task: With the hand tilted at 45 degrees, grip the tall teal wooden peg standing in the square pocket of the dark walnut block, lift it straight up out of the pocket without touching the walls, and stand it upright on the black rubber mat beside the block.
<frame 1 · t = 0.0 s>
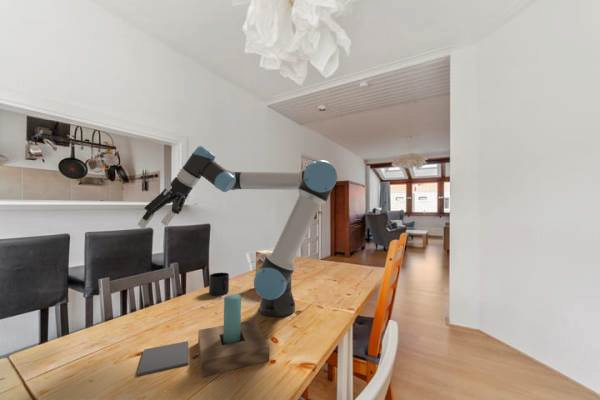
hand: (152, 225, 99), 36 cm above the table, tool tilted 35°, fingers open, 13 cm apart
mug: (220, 293, 126), on the table
peg: (232, 324, 76), in the pocket block
pocket block: (231, 351, 76), on the table
coffeecake box: (269, 289, 135), on the table
mat: (165, 357, 72), on the table
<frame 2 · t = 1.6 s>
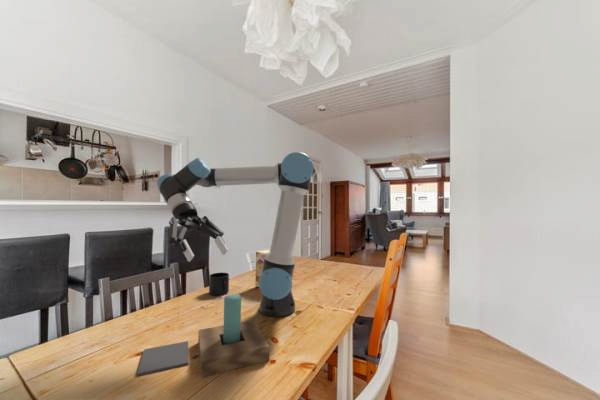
hand: (209, 255, 82), 28 cm above the table, tool tilted 45°, fingers open, 13 cm apart
nothing on the table moved.
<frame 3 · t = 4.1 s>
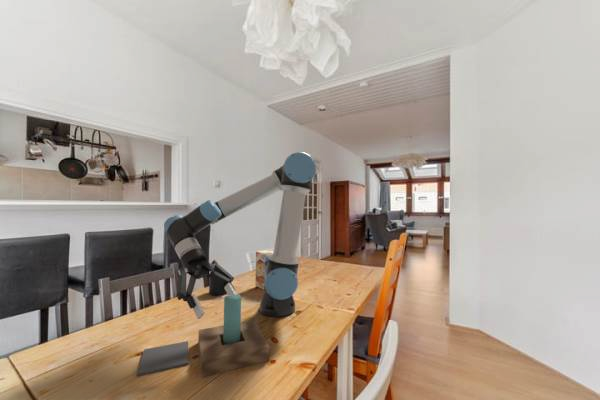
hand: (220, 308, 78), 12 cm above the table, tool tilted 45°, fingers open, 13 cm apart
nothing on the table moved.
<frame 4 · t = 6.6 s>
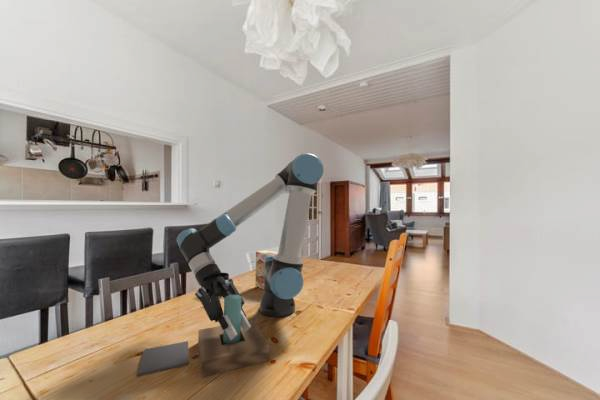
hand: (241, 333, 74), 6 cm above the table, tool tilted 45°, fingers closed on peg, 5 cm apart
peg: (232, 324, 76), in the pocket block, touching gripper
everything else where it was.
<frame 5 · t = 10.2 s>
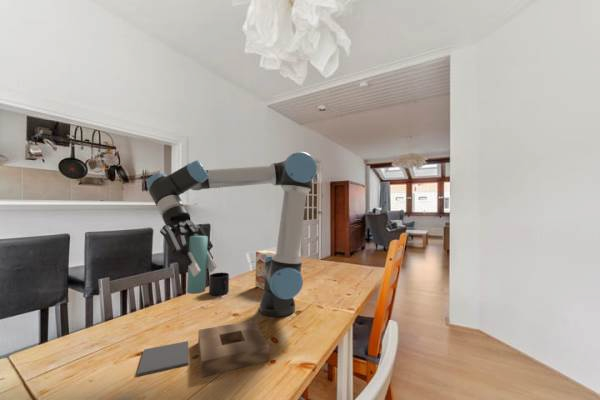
hand: (205, 271, 72), 25 cm above the table, tool tilted 45°, fingers closed on peg, 5 cm apart
peg: (197, 263, 74), point 27 cm above the table, touching gripper
everything else where it was.
when the fingers open (8 cm above the table, at t = 14.3 s): peg drops 1 cm, resting on mat.
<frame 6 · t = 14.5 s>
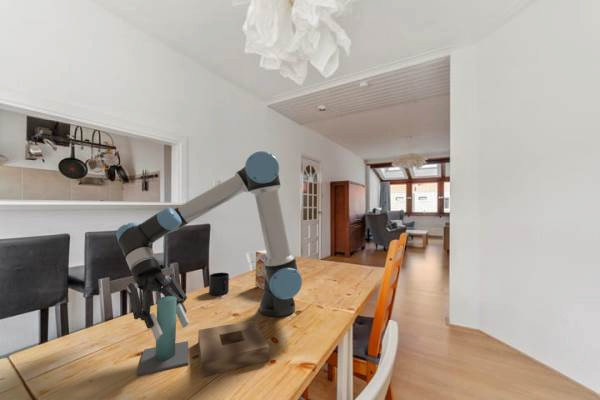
hand: (173, 330, 70), 9 cm above the table, tool tilted 45°, fingers open, 7 cm apart
peg: (166, 327, 72), on the mat, point 9 cm above the table
everything else where it was.
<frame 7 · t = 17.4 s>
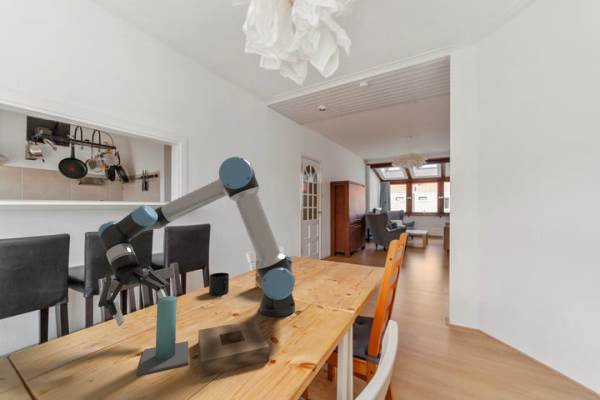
hand: (146, 315, 78), 10 cm above the table, tool tilted 45°, fingers open, 13 cm apart
nothing on the table moved.
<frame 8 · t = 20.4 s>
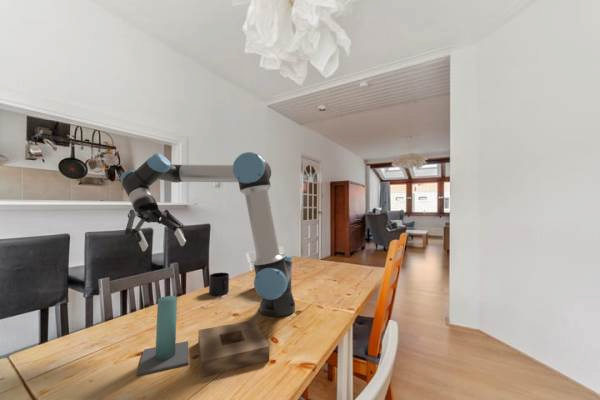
hand: (166, 246, 87), 30 cm above the table, tool tilted 45°, fingers open, 13 cm apart
nothing on the table moved.
at the end: peg 0.1 cm off-centre on the mat, point 8.6 cm above the mat's base; peg tilted 1°; the gripper is holding nothing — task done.
